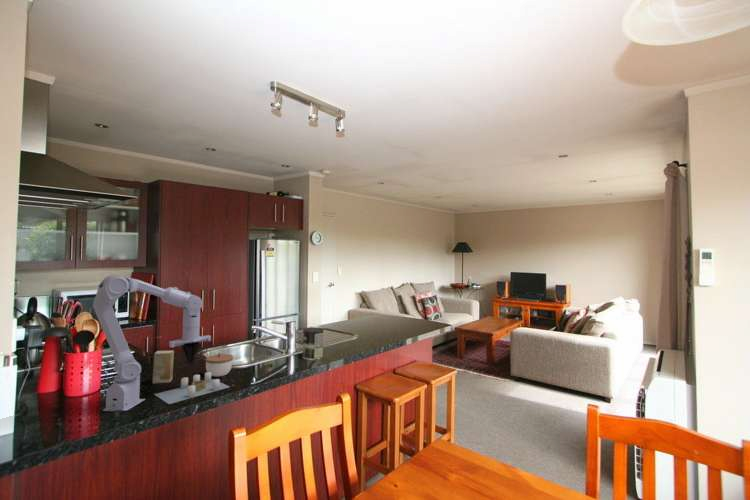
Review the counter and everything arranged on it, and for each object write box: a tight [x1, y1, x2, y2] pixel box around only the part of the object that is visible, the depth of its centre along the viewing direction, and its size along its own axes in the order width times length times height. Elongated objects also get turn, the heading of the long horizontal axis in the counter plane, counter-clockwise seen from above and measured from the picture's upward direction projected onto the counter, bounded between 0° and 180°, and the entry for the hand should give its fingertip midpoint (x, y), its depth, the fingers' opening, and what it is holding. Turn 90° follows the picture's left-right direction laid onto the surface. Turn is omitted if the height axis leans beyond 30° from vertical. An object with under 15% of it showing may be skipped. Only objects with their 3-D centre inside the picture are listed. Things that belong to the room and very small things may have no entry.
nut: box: [191, 379, 206, 391], centre depth 137 cm, size 4×5×2 cm
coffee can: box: [302, 327, 324, 361], centre depth 185 cm, size 10×10×14 cm
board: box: [154, 371, 230, 405], centre depth 136 cm, size 22×13×4 cm, turn 141°
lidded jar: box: [205, 352, 234, 378], centre depth 155 cm, size 11×11×9 cm
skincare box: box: [152, 350, 175, 384], centre depth 145 cm, size 6×4×12 cm
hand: (190, 363), depth 137 cm, fingers closed
